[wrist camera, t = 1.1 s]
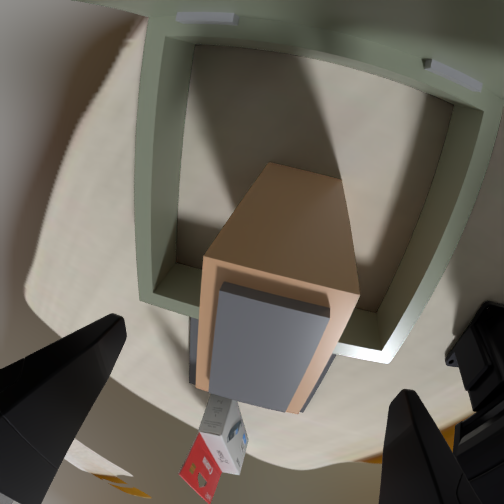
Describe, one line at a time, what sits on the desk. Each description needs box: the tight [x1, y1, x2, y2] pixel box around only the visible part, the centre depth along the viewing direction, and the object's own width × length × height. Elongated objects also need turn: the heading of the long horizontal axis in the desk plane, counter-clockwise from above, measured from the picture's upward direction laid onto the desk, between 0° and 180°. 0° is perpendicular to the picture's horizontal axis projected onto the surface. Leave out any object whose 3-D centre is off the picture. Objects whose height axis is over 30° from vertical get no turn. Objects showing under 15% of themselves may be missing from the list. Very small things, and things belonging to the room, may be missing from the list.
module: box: [196, 162, 360, 414], centre depth 13 cm, size 4×6×10 cm, turn 171°
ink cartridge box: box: [178, 394, 248, 504], centre depth 26 cm, size 2×11×10 cm, turn 7°
